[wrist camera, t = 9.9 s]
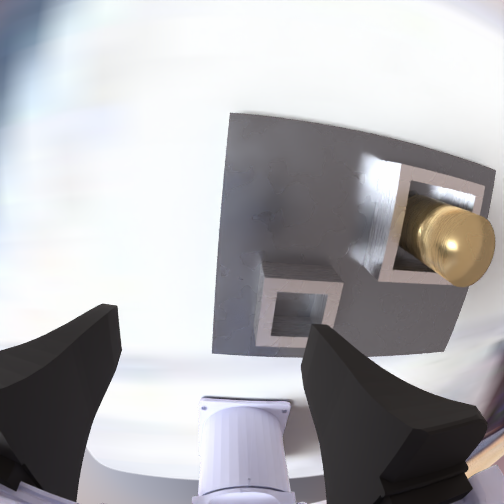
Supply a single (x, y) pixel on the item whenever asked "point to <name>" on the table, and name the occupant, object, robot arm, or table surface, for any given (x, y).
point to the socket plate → (332, 239)
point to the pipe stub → (447, 239)
